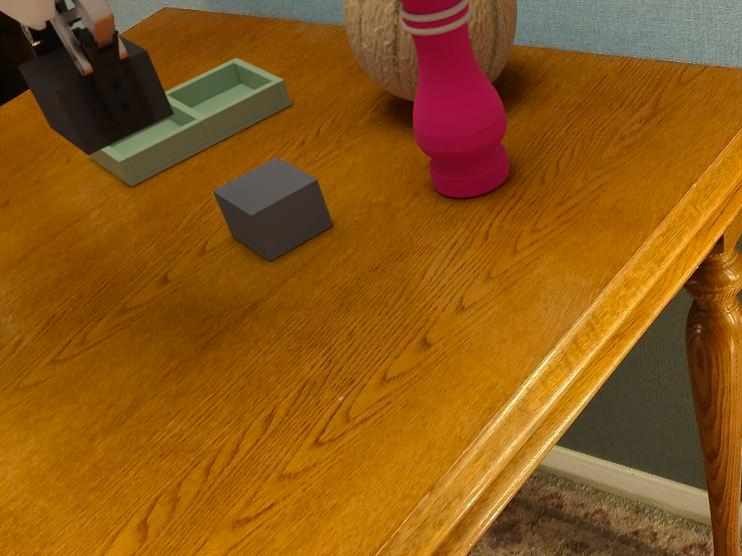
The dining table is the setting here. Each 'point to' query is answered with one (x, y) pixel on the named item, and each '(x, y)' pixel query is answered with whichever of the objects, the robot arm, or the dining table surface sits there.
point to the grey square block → (273, 208)
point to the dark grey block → (68, 102)
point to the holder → (197, 120)
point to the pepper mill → (454, 101)
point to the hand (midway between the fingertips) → (107, 112)
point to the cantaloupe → (397, 49)
